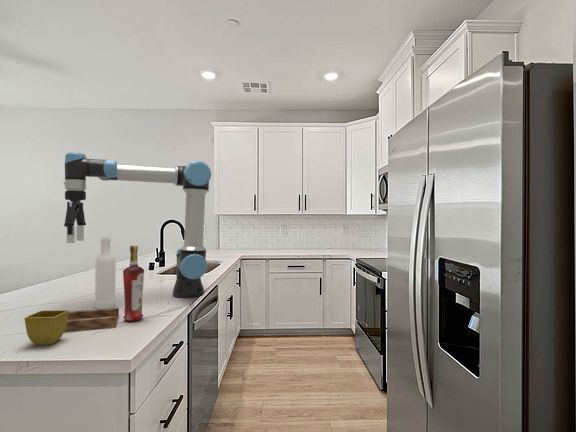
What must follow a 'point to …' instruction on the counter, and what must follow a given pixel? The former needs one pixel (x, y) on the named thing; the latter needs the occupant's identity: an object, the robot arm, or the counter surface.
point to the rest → (92, 319)
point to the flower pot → (46, 326)
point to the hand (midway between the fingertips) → (75, 241)
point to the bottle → (105, 277)
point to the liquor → (133, 288)
